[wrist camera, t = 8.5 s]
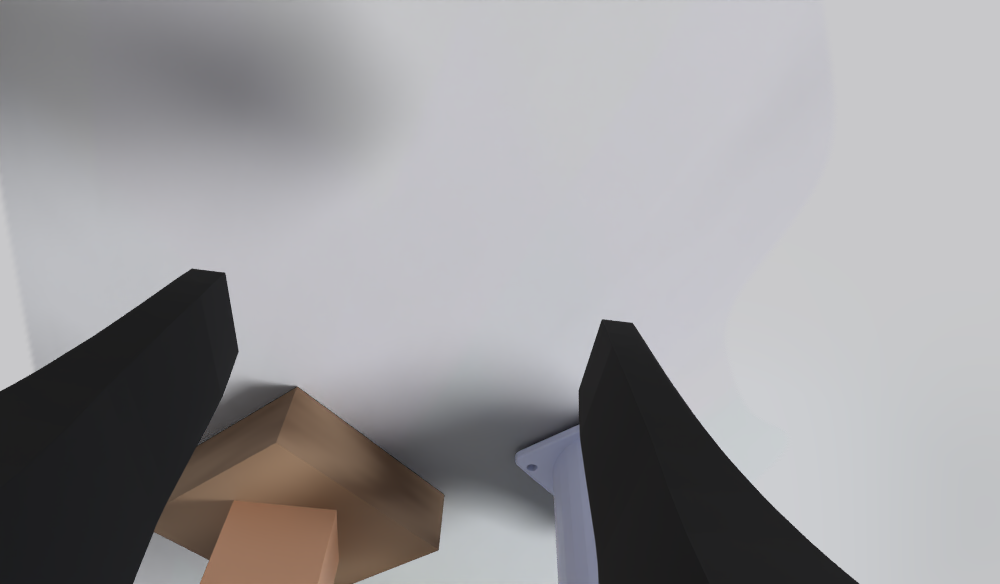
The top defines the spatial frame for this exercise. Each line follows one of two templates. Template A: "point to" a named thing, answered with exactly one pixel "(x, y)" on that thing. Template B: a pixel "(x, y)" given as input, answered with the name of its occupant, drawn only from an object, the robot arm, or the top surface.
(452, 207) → the top surface
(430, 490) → the walnut plinth
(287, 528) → the terracotta block
